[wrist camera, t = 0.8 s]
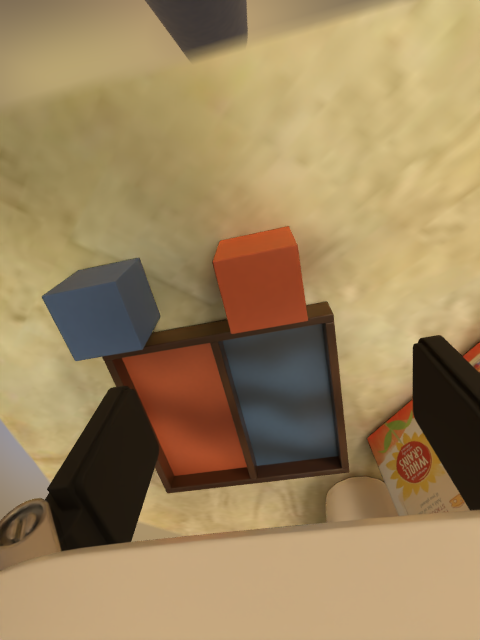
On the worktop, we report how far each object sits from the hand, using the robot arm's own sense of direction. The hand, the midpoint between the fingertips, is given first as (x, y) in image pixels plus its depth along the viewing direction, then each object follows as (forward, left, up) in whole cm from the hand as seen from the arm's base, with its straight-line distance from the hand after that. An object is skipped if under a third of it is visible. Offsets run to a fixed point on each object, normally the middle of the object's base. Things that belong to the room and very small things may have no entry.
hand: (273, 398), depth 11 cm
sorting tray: (+11, -4, -13) cm, 17 cm away
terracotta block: (0, 0, -13) cm, 13 cm away
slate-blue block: (0, -10, -13) cm, 16 cm away
